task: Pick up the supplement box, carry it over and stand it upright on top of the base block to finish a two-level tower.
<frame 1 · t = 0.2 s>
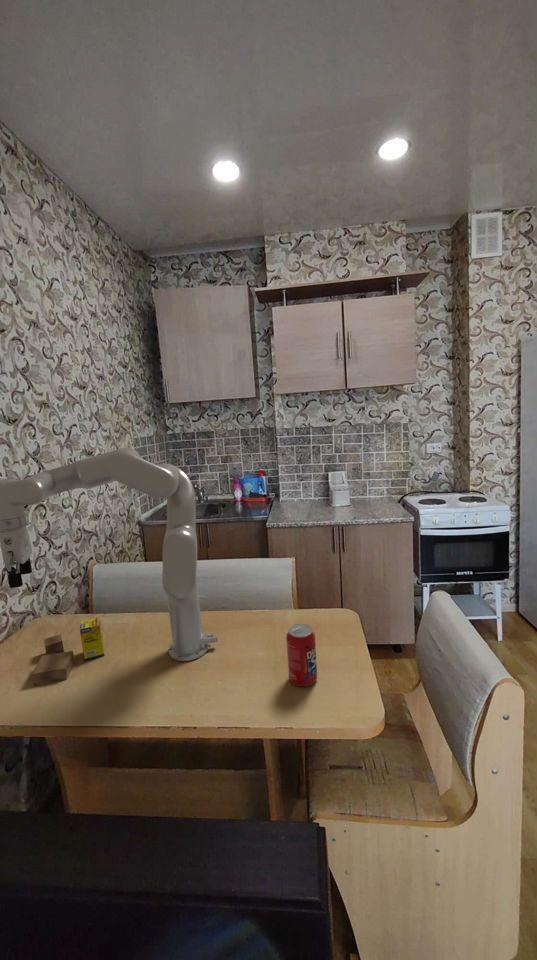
hand: (21, 580, 120), 30 cm above the table, tool pointing down, fingers open, 9 cm apart
soda can: (303, 680, 115), on the table
base block: (55, 673, 126), on the table
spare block: (55, 653, 136), on the table
supplement box: (94, 654, 135), on the table
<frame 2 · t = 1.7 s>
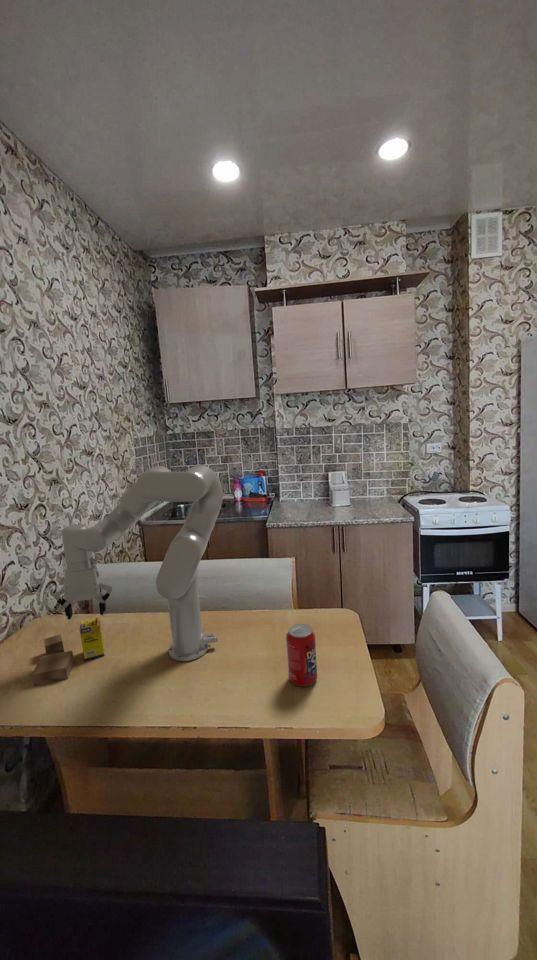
hand: (86, 615, 132), 13 cm above the table, tool pointing down, fingers open, 9 cm apart
nothing on the table moved.
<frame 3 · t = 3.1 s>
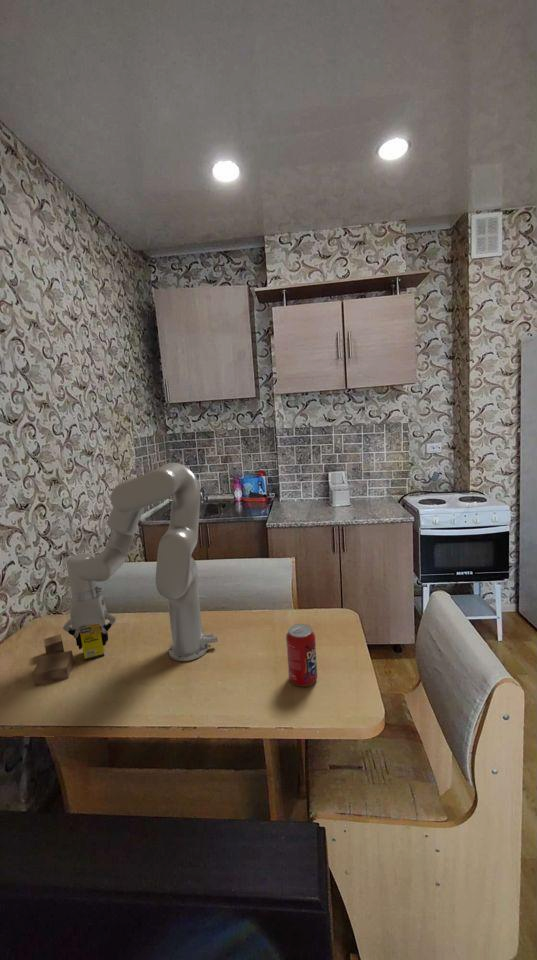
hand: (93, 644, 134), 3 cm above the table, tool pointing down, fingers closed on supplement box, 6 cm apart
supplement box: (94, 654, 135), on the table, touching gripper
everything else where it was.
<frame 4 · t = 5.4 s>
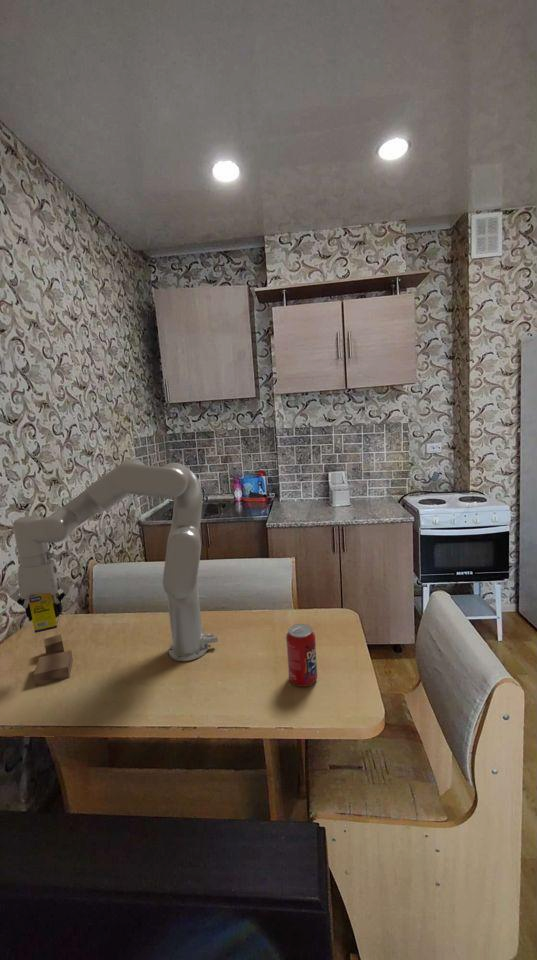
hand: (45, 616, 123), 19 cm above the table, tool pointing down, fingers closed on supplement box, 6 cm apart
supplement box: (47, 626, 123), point 15 cm above the table, touching gripper
everything else where it was.
when the fingers open (8 cm above the table, at t = 7.8 s): supplement box stays where it is, resting on base block.
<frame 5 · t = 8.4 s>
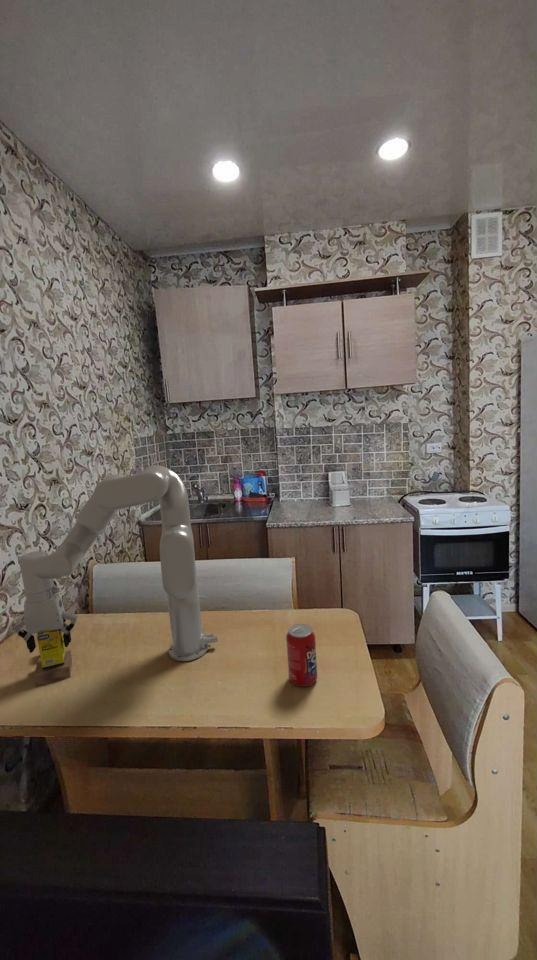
hand: (50, 647, 125), 8 cm above the table, tool pointing down, fingers open, 9 cm apart
base block: (55, 674, 126), on the table, touching supplement box
supplement box: (54, 662, 126), point 3 cm above the table, touching base block
everything else where it was.
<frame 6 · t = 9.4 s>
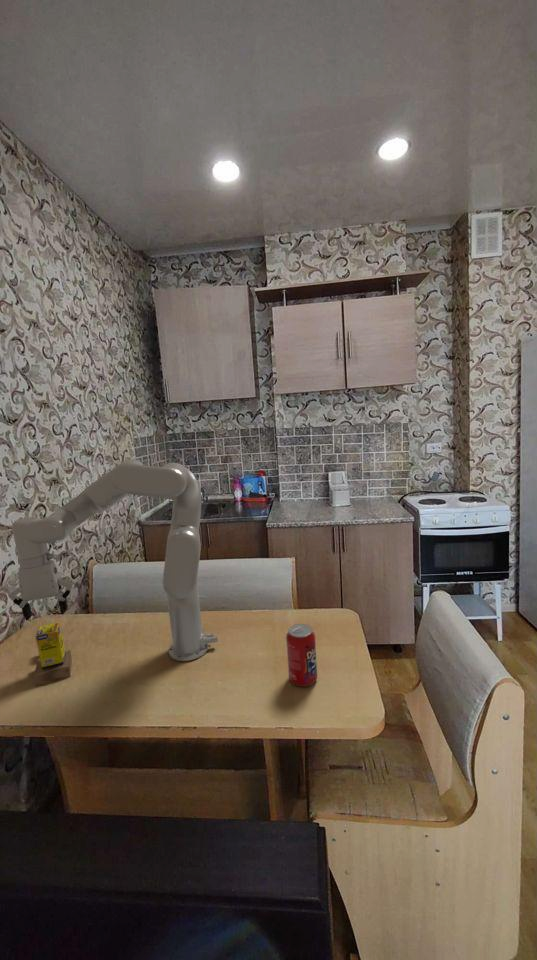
hand: (46, 615, 123), 19 cm above the table, tool pointing down, fingers open, 9 cm apart
nothing on the table moved.
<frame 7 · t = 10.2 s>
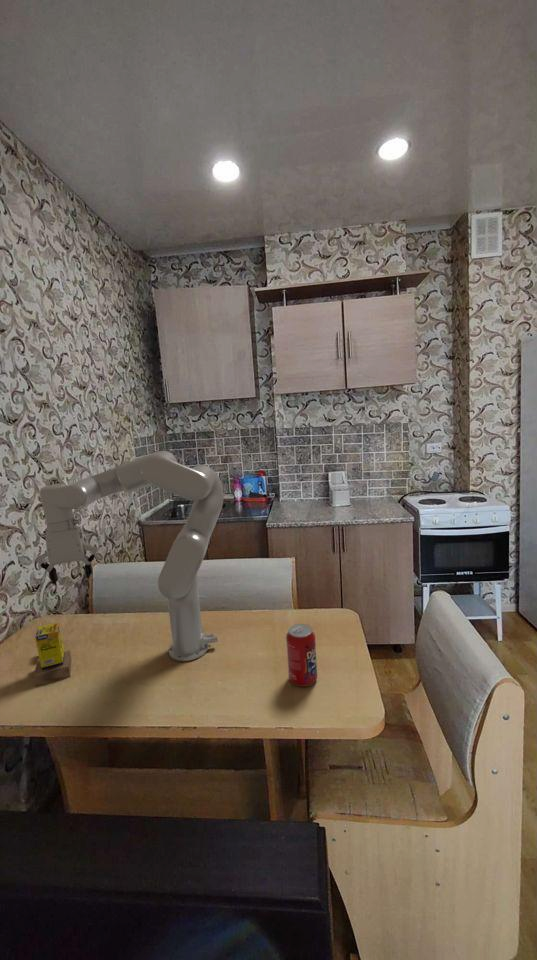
hand: (72, 579, 128), 27 cm above the table, tool pointing down, fingers open, 9 cm apart
base block: (54, 674, 126), on the table
supplement box: (53, 662, 126), point 3 cm above the table
everything else where it was.
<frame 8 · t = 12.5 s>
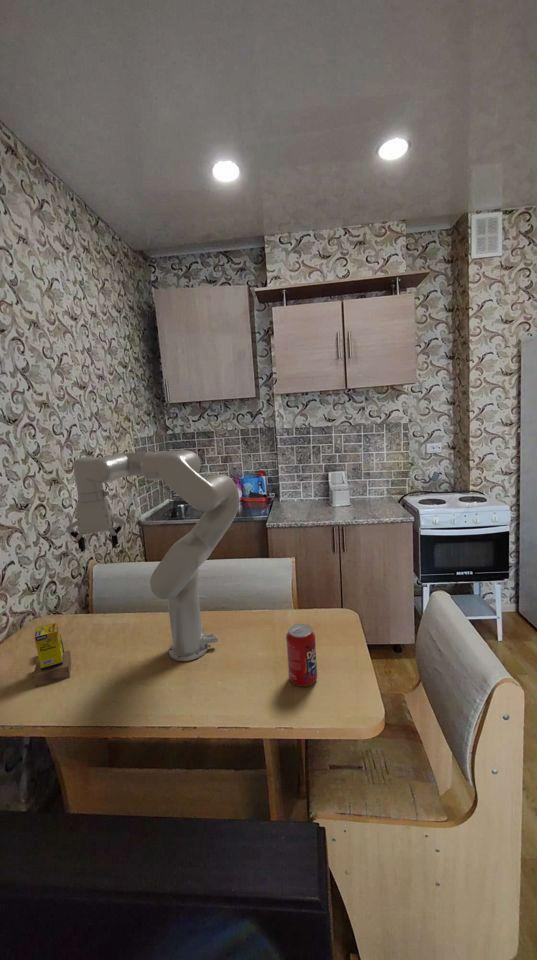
hand: (99, 548, 134), 33 cm above the table, tool pointing down, fingers open, 9 cm apart
base block: (54, 674, 126), on the table, touching supplement box
supplement box: (52, 662, 125), point 3 cm above the table, touching base block
everything else where it was.
at the end: supplement box 0.3 cm from the base block (horizontally); supplement box touching base block; supplement box tilted 0° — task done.
